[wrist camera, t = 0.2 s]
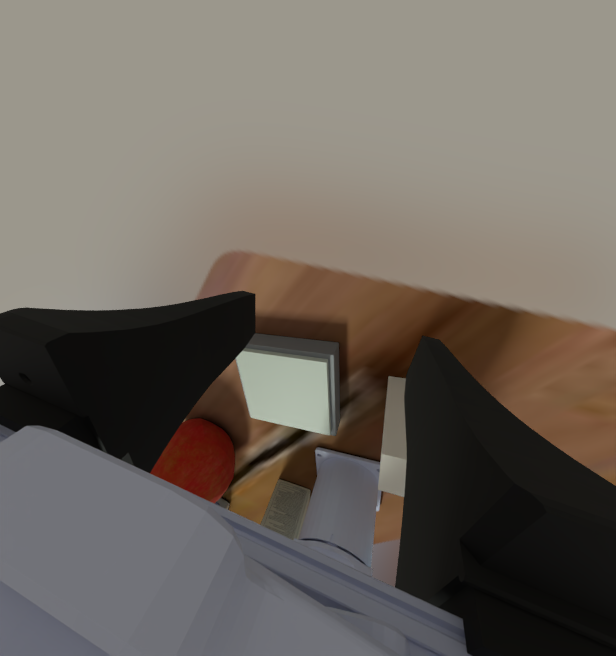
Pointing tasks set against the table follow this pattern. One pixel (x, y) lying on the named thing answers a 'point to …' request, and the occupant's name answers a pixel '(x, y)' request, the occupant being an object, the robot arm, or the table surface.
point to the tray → (292, 382)
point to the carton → (394, 440)
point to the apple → (198, 459)
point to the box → (287, 509)
